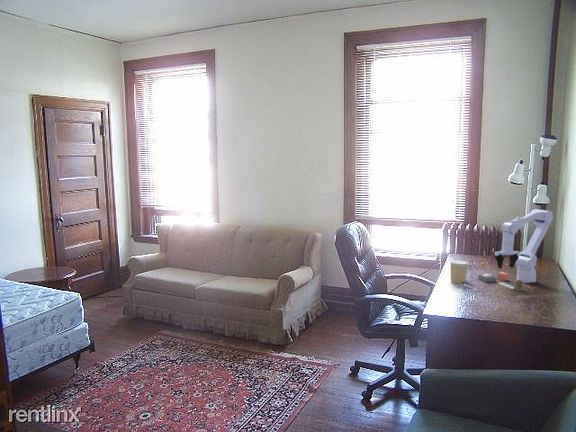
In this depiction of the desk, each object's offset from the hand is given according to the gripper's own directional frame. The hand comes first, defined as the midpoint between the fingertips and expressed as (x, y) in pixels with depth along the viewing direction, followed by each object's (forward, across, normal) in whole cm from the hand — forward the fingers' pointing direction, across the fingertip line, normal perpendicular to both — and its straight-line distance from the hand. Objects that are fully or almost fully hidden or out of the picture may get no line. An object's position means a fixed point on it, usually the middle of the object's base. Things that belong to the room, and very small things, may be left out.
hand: (505, 267), depth 251 cm
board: (+10, +2, +1) cm, 11 cm away
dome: (+9, +5, -8) cm, 13 cm away
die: (+9, -5, -7) cm, 12 cm away
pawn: (+9, +1, +12) cm, 15 cm away
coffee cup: (+11, +21, -12) cm, 27 cm away
